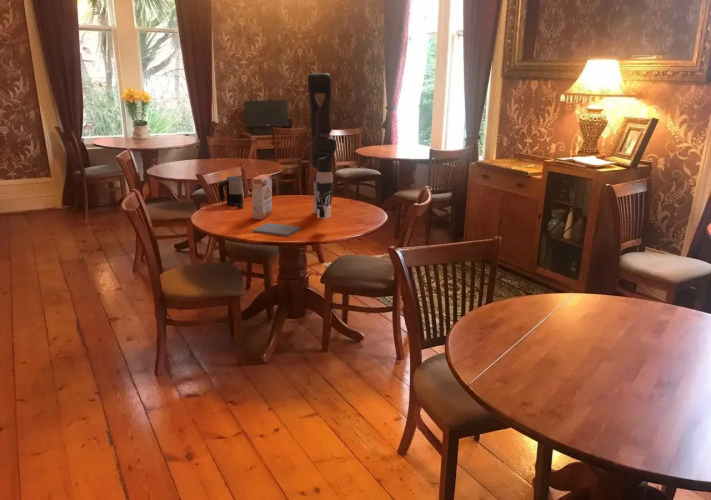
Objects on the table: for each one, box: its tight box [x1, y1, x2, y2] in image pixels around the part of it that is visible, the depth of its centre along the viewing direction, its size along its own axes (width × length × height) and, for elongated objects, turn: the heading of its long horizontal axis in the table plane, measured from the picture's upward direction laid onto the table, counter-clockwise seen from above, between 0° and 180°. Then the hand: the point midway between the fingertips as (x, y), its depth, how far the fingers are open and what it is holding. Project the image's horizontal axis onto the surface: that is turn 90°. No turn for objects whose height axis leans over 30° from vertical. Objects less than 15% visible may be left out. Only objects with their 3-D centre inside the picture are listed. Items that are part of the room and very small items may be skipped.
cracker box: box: [251, 173, 273, 221], centre depth 288 cm, size 14×6×21 cm, turn 168°
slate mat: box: [252, 222, 302, 238], centre depth 267 cm, size 14×18×1 cm
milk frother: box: [217, 176, 244, 209], centre depth 310 cm, size 14×16×15 cm
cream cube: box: [316, 205, 332, 220], centre depth 267 cm, size 5×5×5 cm
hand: (324, 215), depth 267 cm, fingers closed on cream cube, 5 cm apart
